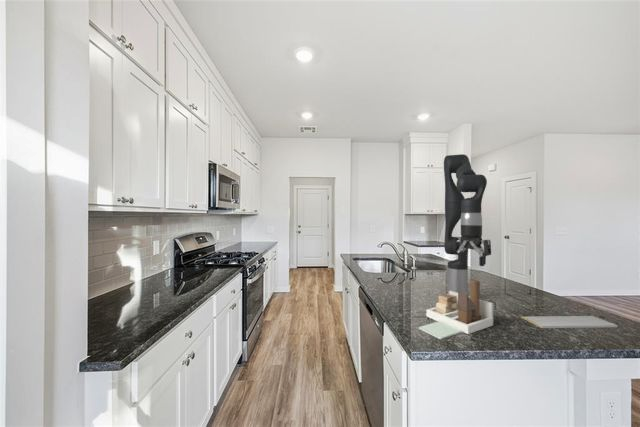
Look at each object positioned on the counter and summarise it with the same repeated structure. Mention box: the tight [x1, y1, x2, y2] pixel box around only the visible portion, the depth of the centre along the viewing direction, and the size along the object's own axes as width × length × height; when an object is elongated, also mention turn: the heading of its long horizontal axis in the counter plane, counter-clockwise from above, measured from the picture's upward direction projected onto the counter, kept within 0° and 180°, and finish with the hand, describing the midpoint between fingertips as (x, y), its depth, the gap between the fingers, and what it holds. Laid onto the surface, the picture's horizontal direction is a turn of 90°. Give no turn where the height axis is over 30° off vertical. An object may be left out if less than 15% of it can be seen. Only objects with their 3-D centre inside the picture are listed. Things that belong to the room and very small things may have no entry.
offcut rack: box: [425, 291, 494, 335], centre depth 110 cm, size 16×19×9 cm
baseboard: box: [520, 312, 619, 329], centre depth 109 cm, size 31×3×12 cm
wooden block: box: [458, 278, 481, 324], centre depth 105 cm, size 4×11×18 cm, turn 121°
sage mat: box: [418, 321, 463, 340], centre depth 101 cm, size 12×10×1 cm
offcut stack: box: [435, 293, 458, 314], centre depth 115 cm, size 9×5×9 cm, turn 118°
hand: (471, 264), depth 105 cm, fingers open, 8 cm apart
